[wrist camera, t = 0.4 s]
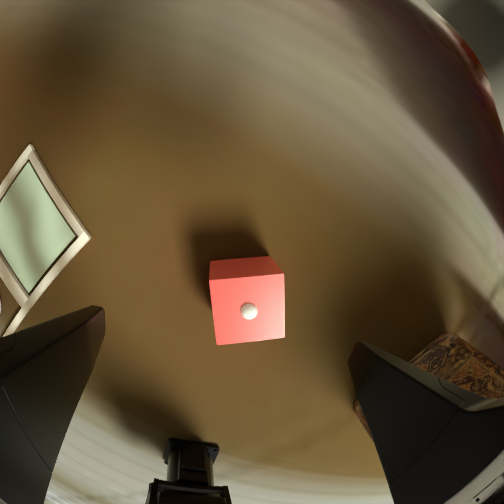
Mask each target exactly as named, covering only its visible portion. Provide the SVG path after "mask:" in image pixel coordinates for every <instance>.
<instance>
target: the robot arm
mask: <svg viewBox="0 0 504 504" xmlns="http://www.w3.org/2000/svg"><path fill="white" fill-rule="evenodd" d="M104 335H105V311H104V309H103V308H102V307H99V306H95V305H91V306H89V307H86V308H83V309H80V310H77V311H74V312H72V313H69V314H66V315H63V316H60V317H57V318H55V319H52V320H49V321H46V322H43V323H41V324H38V325H35V326H32V327H29V328H26V329H24V330H21V331H18V332H17V333H12V334H9V335H7V336H4V337H1V338H0V504H44V500H45V496H46V493H47V489H48V486H49V482H50V479H51V476H52V472H53V469H54V466H55V463H56V460H57V457H58V454H59V451H60V448H61V445H62V442H63V440H64V437H65V434H66V432H67V429H68V427H69V424H70V421H71V419H72V416H73V414H74V412H75V409H76V407H77V404H78V402H79V400H80V397H81V395H82V393H83V390H84V388H85V386H86V384H87V381H88V379H89V377H90V375H91V373H92V370H93V367H94V365H95V361H96V358H97V355H98V352H99V349H100V347H101V344H102V341H103V338H104ZM348 366H349V370H350V373H351V377H352V380H353V384H354V388H355V392H356V395H357V398H358V401H359V403H360V406H361V409H362V411H363V414H364V417H365V419H366V422H367V425H368V427H369V430H370V433H371V436H372V438H373V441H374V444H375V447H376V450H377V452H378V455H379V458H380V461H381V464H382V467H383V470H384V473H385V476H386V479H387V482H388V485H389V488H390V492H391V495H392V498H393V501H394V504H504V397H503V398H499V399H490V398H486V397H483V396H481V395H478V394H476V393H473V392H471V391H468V390H466V389H463V388H461V387H458V386H456V385H454V384H452V383H449V382H447V381H445V380H443V379H441V378H439V377H436V376H435V375H433V374H431V373H429V372H427V371H425V370H423V369H421V368H419V367H416V366H414V365H412V364H410V363H408V362H406V361H404V360H402V359H400V358H399V357H397V356H395V355H393V354H391V353H389V352H387V351H385V350H383V349H381V348H379V347H377V346H375V345H373V344H371V343H369V342H367V341H358V342H356V344H355V345H354V348H353V350H352V352H351V354H350V357H349V359H348ZM218 452H219V447H218V446H215V445H207V444H201V443H194V442H188V441H183V440H178V439H173V438H170V439H168V444H167V449H166V454H165V460H164V463H165V464H168V470H167V481H164V480H159V479H156V478H154V482H153V483H149V491H148V496H147V499H146V503H145V504H232V503H231V499H230V494H229V490H228V486H214V480H213V464H214V461H215V459H216V457H217V455H218Z"/></svg>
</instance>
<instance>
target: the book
mask: <svg viewBox="0 0 504 504" xmlns="http://www.w3.org/2000/svg"><path fill="white" fill-rule="evenodd" d="M408 363H410V364H412V365H414V366H416V367H419V368H421V369H423V370H425V371H427V372H429V373H431V374H433V375H435V376H436V377H439V378H441V379H443V380H445V381H447V382H449V383H452V384H454V385H456V386H458V387H461V388H463V389H466V390H468V391H471V392H473V393H476V394H478V395H481V396H483V397H486V398H490V399H499V398H503V397H504V369H502V368H501V367H500V366H498V365H497V364H496V363H494V362H493V361H492V360H490V359H489V358H488V357H486V356H485V355H484V354H482V353H481V352H479V351H478V350H477V349H475V348H474V347H473V346H471V345H470V344H468V343H467V342H466V341H464V340H463V339H461V338H460V337H458V336H457V335H455V334H453V333H451V332H444V333H442V334H441V335H440V336H439V337H438V338H436V339H435V340H434V341H433V342H432V343H430V344H429V345H428V346H427V347H426V348H424V349H423V350H422V351H421V352H420V353H419V354H417V355H416V356H415V357H414V358H413V359H411V360H410V361H409V362H408ZM354 411H355V413H356V415H357V416H358V418H359V420H360V421H361V423H362V425H363V426H364V428H365V429H366V431H367V433H368V434H369V436H370V437H371V439H372V441H373V438H372V436H371V433H370V430H369V427H368V425H367V422H366V419H365V417H364V414H363V411H362V409H361V406H360V403H359V401H358V399H357V400H356V402H355V404H354ZM373 442H374V441H373Z"/></svg>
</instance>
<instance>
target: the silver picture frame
mask: <svg viewBox="0 0 504 504" xmlns="http://www.w3.org/2000/svg"><path fill="white" fill-rule="evenodd" d="M28 159H30V161H31V163H32V165H33V166H34V168H35V170H36V172H37V173H38V175H39V177H40V179H41V180H42V182H43V184H44V185H45V187H46V189H47V190H48V192H49V194H50V195H51V197H52V198H53V200H54V201H55V203H56V205H57V206H58V208H59V209H60V211H61V212H62V214H63V215H64V217H65V218H66V220H67V221H68V222H69V224H70V225H71V227H72V228H73V230H74V231H75V232H76V234H77V235H78V237H79V238H78V239H77V240H76V241H75V242H74V243H73V244H72V245H71V246H70V248H69V249H68V250H67V251H66V252H65V253H64V254H63V256H62V257H61V258H60V259H59V260H58V261H57V263H56V264H55V265H54V266H53V267H52V269H51V270H50V271H49V272H48V274H47V275H46V276H45V277H44V279H43V280H42V281H41V282H40V284H39V285H38V286H37V288H36V289H35V290H34V291H33V293H32V294H31V296H29V295H28V293H29V292H30V291H31V290H32V288H33V287H34V286H35V284H36V283H37V282H38V280H39V279H40V278H41V277H42V275H43V274H44V273H45V272H46V270H47V269H48V268H49V267H50V265H51V264H52V263H53V262H54V260H55V259H56V258H57V257H58V256H59V254H60V253H61V252H62V251H63V250H64V249H65V248H66V246H67V245H68V244H69V243H70V242H71V241H72V240H73V238H74V237H75V236H76V235H75V233H74V232H73V230H72V229H71V227H70V226H69V225H68V223H67V222H66V220H65V219H64V217H63V216H62V214H61V213H60V211H59V210H58V208H57V207H56V205H55V204H54V202H53V201H52V199H51V197H50V196H49V194H48V193H47V191H46V189H45V188H44V186H43V184H42V183H41V181H40V179H39V178H38V176H37V174H36V172H35V171H34V169H33V167H32V165H31V163H30V162H28V163H27V165H26V166H25V167H24V169H23V170H22V171H21V173H20V174H19V176H18V177H17V178H16V180H15V181H14V183H13V184H12V186H11V187H10V189H9V190H8V192H7V193H6V195H5V196H4V198H3V199H2V201H1V203H0V249H1V251H2V253H3V255H4V256H5V258H6V259H7V261H8V263H9V264H10V266H11V268H12V269H13V271H14V272H15V274H16V275H17V277H18V278H19V280H20V281H21V283H22V284H23V286H24V287H25V288H26V290H27V291H28V293H27V292H26V291H25V289H24V288H23V286H22V285H21V283H20V282H19V280H18V279H17V277H16V276H15V274H14V273H13V271H12V270H11V268H10V267H9V265H8V263H7V262H6V260H5V259H4V257H3V255H2V254H1V252H0V277H1V278H2V280H3V282H4V283H5V285H6V286H7V288H8V289H9V291H10V292H11V294H12V295H13V296H14V298H15V299H16V301H17V302H18V304H19V305H20V306H21V309H20V311H19V312H18V314H17V315H16V317H15V318H14V320H13V321H12V323H11V324H10V326H9V327H8V329H7V330H6V332H5V334H4V335H3V337H4V336H7V335H9V334H12V333H13V332H14V331H15V330H16V328H17V327H18V325H19V324H20V322H21V321H22V320H23V318H24V317H25V316H26V314H27V313H28V312H29V310H30V309H31V308H32V306H33V305H34V304H35V302H36V301H37V300H38V298H39V297H40V296H41V295H42V293H43V292H44V291H45V290H46V288H47V287H48V286H49V285H50V284H51V282H52V281H53V280H54V279H55V278H56V276H57V275H58V274H59V273H60V272H61V271H62V269H63V268H64V267H65V266H66V265H67V264H68V263H69V261H70V260H71V259H72V258H73V257H74V256H75V255H76V254H77V253H78V252H79V251H80V249H81V248H82V247H83V246H84V245H85V244H86V243H87V242H88V241H89V240H90V239H91V238H92V237H91V235H90V234H89V233H88V231H87V230H86V229H85V227H84V226H83V224H82V223H81V222H80V220H79V219H78V217H77V216H76V214H75V213H74V212H73V210H72V209H71V207H70V206H69V204H68V203H67V201H66V200H65V198H64V197H63V195H62V194H61V192H60V191H59V189H58V187H57V186H56V184H55V183H54V181H53V179H52V178H51V176H50V175H49V173H48V171H47V170H46V168H45V166H44V164H43V163H42V161H41V159H40V158H39V156H38V154H37V152H36V150H35V149H34V147H33V145H32V144H29V145H28V147H27V148H26V149H25V151H24V152H23V153H22V154H21V156H20V157H19V159H18V160H17V161H16V163H15V164H14V165H13V167H12V168H11V170H10V171H9V173H8V174H7V176H6V177H5V179H4V180H3V182H2V183H1V185H0V199H1V198H2V196H3V194H4V193H5V191H6V190H7V188H8V187H9V185H10V184H11V182H12V181H13V179H14V178H15V176H16V175H17V174H18V172H19V171H20V169H21V168H22V167H23V165H24V164H25V163H26V161H27V160H28Z"/></svg>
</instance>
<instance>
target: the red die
mask: <svg viewBox="0 0 504 504" xmlns="http://www.w3.org/2000/svg"><path fill="white" fill-rule="evenodd" d="M209 284H210V293H211V302H212V311H213V319H214V327H215V335H216V342H217V345H222V344H233V343H243V342H252V341H261V340H269V339H277V338H284V337H285V305H284V273H283V272H282V270H281V269H280V268H279V267H278V265H277V264H276V263H275V262H274V260H273V259H272V258H271V257H270V256H262V257H251V258H239V259H227V260H215V261H210V272H209Z"/></svg>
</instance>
